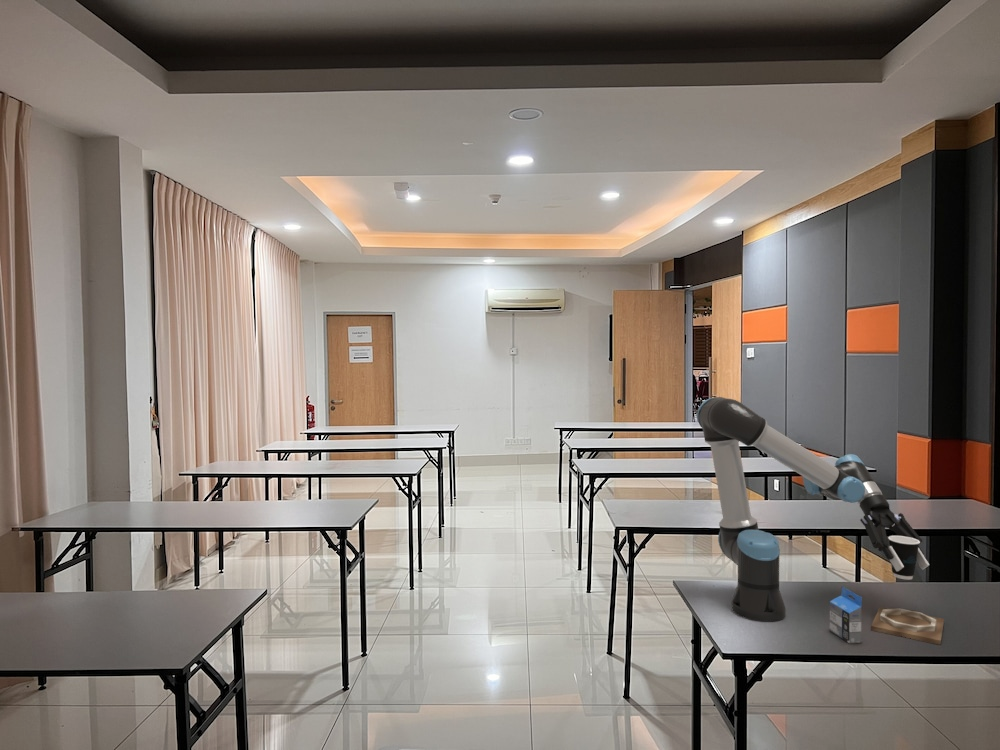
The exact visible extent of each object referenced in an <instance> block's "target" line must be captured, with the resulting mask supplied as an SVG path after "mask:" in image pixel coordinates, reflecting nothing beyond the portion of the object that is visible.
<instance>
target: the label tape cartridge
mask: <svg viewBox="0 0 1000 750" xmlns="http://www.w3.org/2000/svg"><path fill="white" fill-rule="evenodd" d="M850 596H852V597H853V598H852V597H850ZM862 604H863V597H862V596H860V595H859V594H856V593H855V592H853V591H851V590H849V589H847V588H846V587H844V586H841V595H839V596H837V597H835V598H833V599H832V600H829V631H830V632H831V633H833V634H835V635H836V636H837V637H839V638H840V639H842V640H843V641H845V642H846V643H848V644H850V645H852V644H854V645H855V644H862V606H863V605H862Z"/></svg>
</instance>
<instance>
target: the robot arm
mask: <svg viewBox="0 0 1000 750" xmlns="http://www.w3.org/2000/svg"><path fill="white" fill-rule="evenodd" d="M696 419H697V423H698V424H699V426H700V428H701V429H702V432H703V437H704V442H705V443H707V444H708V445H709V446H710V450H711V455H712V461H713V466H714V467H713V468H714V472H715V478H716V484H717V492H718V495H719V501H720V508H721V513H722V514H721V515H722V518H721V520H720V521H719V523H718V526H719V532H718V540H717V541H718V546H719V548H720V551H721V552H722V553H723V554H724V556H725V557H726V558H727V559H729V560H731V562H733V563H734V564H735V565H736V566H737V586H736V588H735V591H734V593H733V597H732V600H731V610H732V612H733V613H734V614H736V615H738V616H739V617H742V618H745V619H748V620H752V621H758V622H778V621H781V620H783V619H785V618H786V616H787V615H786V613H787V612H786V611H787V610H786V609H787V608H786V605H785V602H784V599H783V596H782V593H781V590H780V554H781V549H780V543H779V540H778V538H777V537H776V536H775V535H773V534H772V533H770V532H766V531H765V530H764V531H763V530H761V529H759V524H758V520H757V518H755V517H754V516H752V515H751V514H752V513H751V508H750V502H749V497H748V490H747V483H746V478H745V473H744V468H743V467H744V466H743V461H742V456H741V450H740V444H739V443H742V444H743V445H745V446H747V447H751V446H753V447H755V448H756V449H758V450H759V451H761V452H763V453H765V454H766V455H767V456H769V457H771V458H773V459H774V460H775V461H777V462H779V463H780V464H782V465H784V466H786V467H787V468H789V469H790V470H791V471H793V472H795V473H797V474H799V475H800V476H802V482H803V486H804V488H805V490H806V491H807V493H808V494H810V495H814V496H815V495H820V494H826V495H829V496H831V497H834V498H837V499H839V500H841V501H843V502H845V503H850V504H851V503H854V504H855V503H857V504H858V505H859V508H860V509H861V511H862V513H863V515H864V516H862V517H861V518H860V519H859V521H860V523H861V524H862V525H863V526H864V528H865V530H866V533H867V535H868V538H869V541H870V542H871V545H872V547H873V548H874V549H877V550H878V551H879V552H883V554H884V555H885V557H886V559H887V560H889V562H890V563H892V565H893V567H894V568H895V570H896V571H899V570H901V569H902V568H903V567H904V566H903V564H902V562H901V561H900V559H899V557H898V556H897V554H896V552H895V551H894V549H893V547H892V546H890V545H889V540H888V535H887V532H886V529H889V530H890V531H891V532H894V534H895V535H896V536H905V537H911V538H914V539H917V540H919V541H920V543H919V545H920V544H921V543H923V540H922V538H921V537H920V535H919V534H917V532H916V531H915V529H913V527H912V525H910V524H909V522H908V521H907V520H906V518H905V516H904V514H903V513H902V512H900V513H898V514H897V513H894V512H893V511H891V508H890V504H889V502H888V499H886V497H885V496H884V495H883V493H882V490H881V489H880V487H879V486H878V485H877V483H876V481H875V480H874V478H873V477H872V475H871V474H870V472H869V470H868V469H867V467H866V465H865V463H863V461H862V459H860V457H859V456H858V455H856V454H853V453H848V454H845V455H843V456H841V457H839V458H837V460H835V463H834V465H833V464H831V463H830V462H828V461H827V460H825V459H823V458H822V457H820V456H819V455H817V454H815V453H813V452H812V451H810V450H808V449H807V448H806V447H804V446H802V445H801V444H799V443H798V442H796V441H795V440H793V439H791V438H789V437H788V436H786V435H784V434H783V433H781V432H779V430H777V429H775V428H774V427H772V426H770V425H769V424H768V422H767V419H765V418H764V417H762V416H760V415H759V414H757V413H756V412H755V411H754V410H752V409H750V408H749V407H747V406H746V405H745V404H743V403H742V402H741V401H738V400H736V399H732V398H725V397H722V396H717V397H716V396H714V397H710V398H708V399H705V400H704V401H703V402H701V404H700V406H699V407H698V409H697V413H696ZM916 563H917V565H918V566H919V567H920V569H921V570H925V569H926V568H927V567H929V566H930V563H929V561H928V560H927V559H926V557H925V553H924V551H923V550H922V549H921V547H920V546H918V553H917V559H916ZM892 565H891V566H892Z"/></svg>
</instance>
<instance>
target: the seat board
mask: <svg viewBox="0 0 1000 750" xmlns="http://www.w3.org/2000/svg"><path fill="white" fill-rule="evenodd" d="M944 626H945V619H944V618H942V617H935V616H930V615H927V614H925V613H923V612H920V611H915V610H909V609H904V608H890V607H889V608H888V607H882V606H879V607H878V610H877V612H876V614H875V616H874V619H873V620H872V623H871V626H870V631H873V632H878V633H882V634H883V633H884V634H886V635H892V636H897V637H901V636H902V637H901V638H905V637H906V638H905V639H910V638H911V640H915V641H920V642H925V643H930V644H933V645H941V644H942V643H941V642H942V637H943V633H944Z"/></svg>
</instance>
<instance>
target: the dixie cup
mask: <svg viewBox="0 0 1000 750" xmlns="http://www.w3.org/2000/svg"><path fill="white" fill-rule="evenodd" d="M887 540H888V545H889V546H892V547H893V549H894V551H895V552H896V554H897V556H898V557H899V559H900V561H901V562H902V564H903V566H904V567H903V568H902V569H901V570H899V571H896V570H895V568H894V567H893V565H892V563H891V562H890V563H891V564H890V565H891V572H892V573H893V574H892V575H893V577H895V578H897V579H902V580H908V581H909V580H913V578H914V576H915V571H916V563H917V561H916V559H917V553H918V546H919V545H920V544H921V543H920V541H919V540H917V539H914V538H911V537H905V536H898V535H889V536H887ZM919 543H920V544H919ZM919 547H920V546H919Z"/></svg>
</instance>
